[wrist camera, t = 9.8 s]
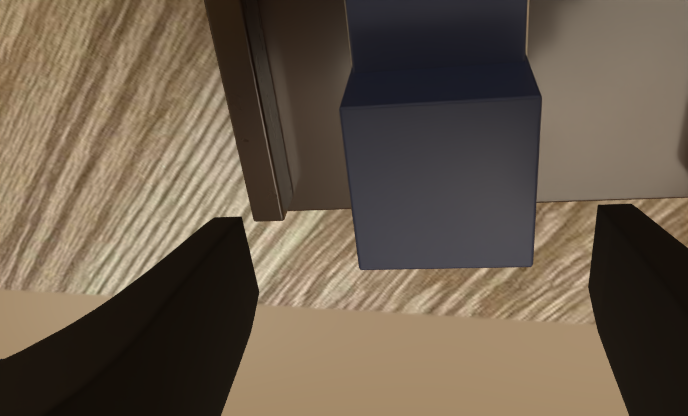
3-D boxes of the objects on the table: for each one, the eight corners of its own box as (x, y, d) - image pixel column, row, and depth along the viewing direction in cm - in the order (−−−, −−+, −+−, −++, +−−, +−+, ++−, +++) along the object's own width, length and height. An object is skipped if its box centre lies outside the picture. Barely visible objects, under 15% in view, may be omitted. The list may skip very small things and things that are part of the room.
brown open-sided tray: (700, 164, 20) (768, 258, 16) (279, 182, 23) (244, 268, 18) (797, -308, 14) (951, -354, 10) (202, -219, 16) (122, -226, 12)
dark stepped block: (517, 174, 19) (539, 273, 15) (369, 180, 20) (353, 276, 16) (526, -98, 15) (560, -61, 11) (342, -78, 16) (311, -37, 12)
